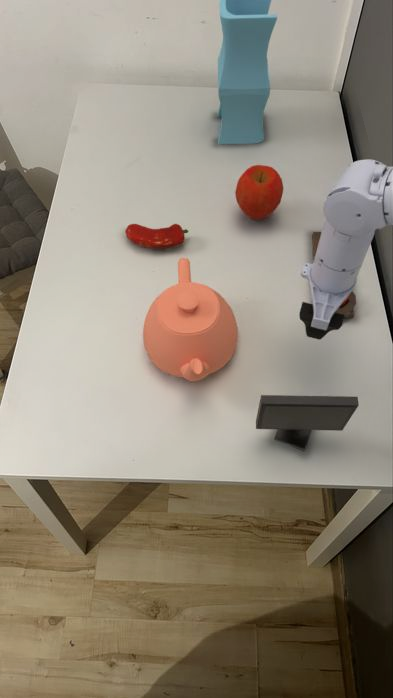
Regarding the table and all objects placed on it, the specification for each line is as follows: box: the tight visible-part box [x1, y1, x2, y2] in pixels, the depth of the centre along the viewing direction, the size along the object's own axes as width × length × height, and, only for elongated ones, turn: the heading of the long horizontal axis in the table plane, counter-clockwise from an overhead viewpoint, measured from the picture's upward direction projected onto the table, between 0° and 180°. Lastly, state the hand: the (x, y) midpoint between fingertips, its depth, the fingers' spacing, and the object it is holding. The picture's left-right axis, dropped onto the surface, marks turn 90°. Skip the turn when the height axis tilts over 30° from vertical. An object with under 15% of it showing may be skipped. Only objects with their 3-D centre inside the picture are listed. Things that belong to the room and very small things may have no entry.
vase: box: [217, 0, 278, 145], centre depth 97 cm, size 10×10×25 cm
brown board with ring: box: [311, 231, 357, 318], centre depth 87 cm, size 19×6×2 cm, turn 176°
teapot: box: [142, 257, 239, 382], centre depth 77 cm, size 22×15×12 cm
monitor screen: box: [255, 394, 360, 432], centre depth 66 cm, size 1×12×9 cm, turn 89°
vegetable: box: [124, 223, 189, 250], centre depth 92 cm, size 4×5×12 cm
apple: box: [234, 164, 284, 221], centre depth 91 cm, size 9×8×11 cm
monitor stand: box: [274, 429, 312, 452], centre depth 71 cm, size 5×5×7 cm
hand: (319, 314), depth 73 cm, fingers open, 7 cm apart
